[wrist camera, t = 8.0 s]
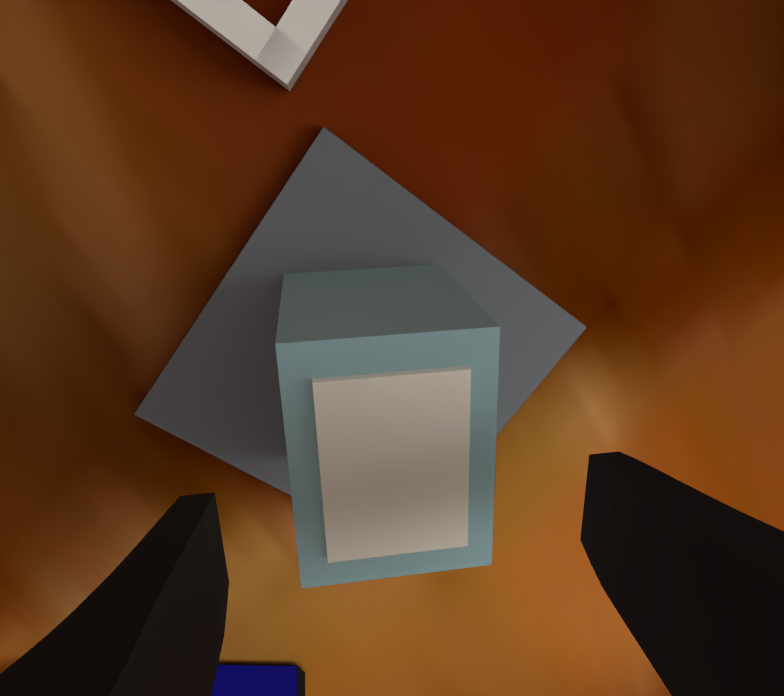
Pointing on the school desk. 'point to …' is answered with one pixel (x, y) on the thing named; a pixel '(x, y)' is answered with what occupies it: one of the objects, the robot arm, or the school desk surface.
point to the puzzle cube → (259, 680)
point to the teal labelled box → (387, 422)
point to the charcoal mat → (330, 253)
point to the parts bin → (269, 32)
